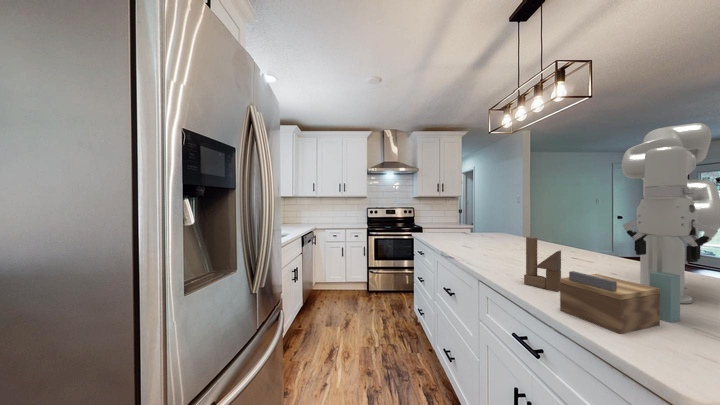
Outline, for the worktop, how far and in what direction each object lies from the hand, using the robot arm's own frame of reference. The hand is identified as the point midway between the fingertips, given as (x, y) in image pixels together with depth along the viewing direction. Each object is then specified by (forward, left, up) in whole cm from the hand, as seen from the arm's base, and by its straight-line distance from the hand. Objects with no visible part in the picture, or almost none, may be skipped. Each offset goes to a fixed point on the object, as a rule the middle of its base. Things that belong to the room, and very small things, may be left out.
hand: (664, 257), depth 70 cm
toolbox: (+13, -5, -16) cm, 22 cm away
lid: (+13, -5, -8) cm, 17 cm away
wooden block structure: (+6, -29, -17) cm, 34 cm away
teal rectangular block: (-1, 0, -16) cm, 16 cm away
